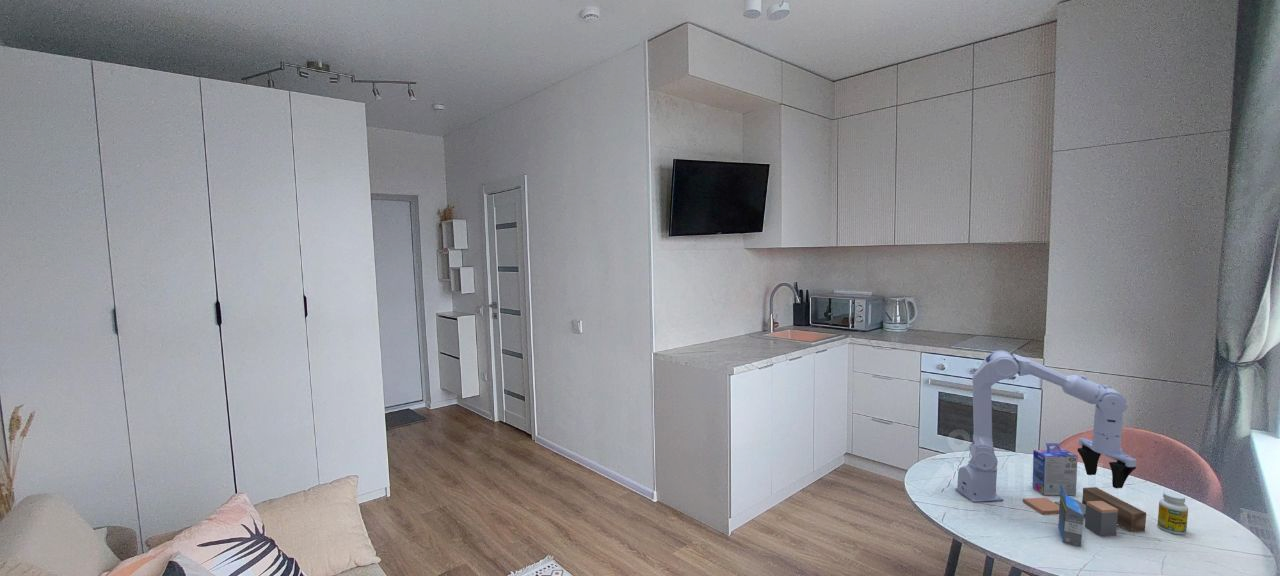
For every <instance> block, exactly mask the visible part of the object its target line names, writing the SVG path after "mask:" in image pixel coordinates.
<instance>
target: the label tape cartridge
mask: <svg viewBox="0 0 1280 576" xmlns="http://www.w3.org/2000/svg"><path fill="white" fill-rule="evenodd" d="M1059 501H1060V507H1059V514H1058V523H1057V527H1058V530H1059V534H1060V537H1061V541H1062V543H1064V544H1065V543H1066V544H1070V545H1074V546H1078V547H1081V546H1082V542H1083V541H1082V538H1083V529H1084V528H1083V527H1084V519H1085V517H1084V515H1083V513H1082V511H1081V509H1080V506H1079V504H1078V502H1077V499H1075V498H1073V497H1072V496H1071V495H1066V494H1065V493H1064V490H1063V487H1062V485H1061V483H1060V495H1059Z"/></svg>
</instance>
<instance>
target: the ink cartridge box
mask: <svg viewBox="0 0 1280 576" xmlns="http://www.w3.org/2000/svg"><path fill="white" fill-rule="evenodd" d="M1045 445H1046V448H1047V449H1044V450H1043V449H1040V450H1039V449H1037V450H1036V449H1035V450H1033V457H1032V459H1033V460H1032V461H1033V462H1032V489H1034V490H1036V491H1037V492H1038V493H1039V494H1041V495H1043V496H1060V483H1061V485H1062V487H1063V490H1064V493H1065V494H1066V495H1068V496H1076V495H1077V480H1078V478H1077V477H1078V476H1077V475H1078V459H1079V456H1078V455H1076V454H1074V453H1072V452H1070V451H1068V450H1067V449H1061V448H1060V445H1059V444H1058V443H1052V442H1051V443H1047V442H1046V443H1045ZM1052 446H1053V447H1056V448H1050V447H1052Z"/></svg>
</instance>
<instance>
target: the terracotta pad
mask: <svg viewBox="0 0 1280 576" xmlns="http://www.w3.org/2000/svg"><path fill="white" fill-rule="evenodd" d="M1054 502H1055V501H1053V500H1051V499H1049V498H1047V497H1045V496H1044V497H1028V498H1022V503H1023V504H1025V505H1027V506H1028V507H1030V508H1032V509H1034V510H1035V511H1037V512H1038V513H1040V514H1041V515H1057V514H1058V515H1059V507H1060V506H1059V505H1058V504H1056V503H1054Z"/></svg>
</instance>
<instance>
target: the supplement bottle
mask: <svg viewBox="0 0 1280 576" xmlns="http://www.w3.org/2000/svg"><path fill="white" fill-rule="evenodd" d="M1185 502H1186V496H1185V495H1182V494H1180V493H1178V492H1176V491H1175V492H1173V491H1168V490H1166V491H1163V495H1162V498H1161V499H1160V500H1159V502H1158V515H1157V526H1158V527H1159V528H1160V530H1163V531H1165V532H1167V533H1170V534H1175V535H1184V534H1186V533H1187V531H1188V530H1187V529H1188V517H1189V506H1188V505H1187V504H1186V503H1185Z"/></svg>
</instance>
